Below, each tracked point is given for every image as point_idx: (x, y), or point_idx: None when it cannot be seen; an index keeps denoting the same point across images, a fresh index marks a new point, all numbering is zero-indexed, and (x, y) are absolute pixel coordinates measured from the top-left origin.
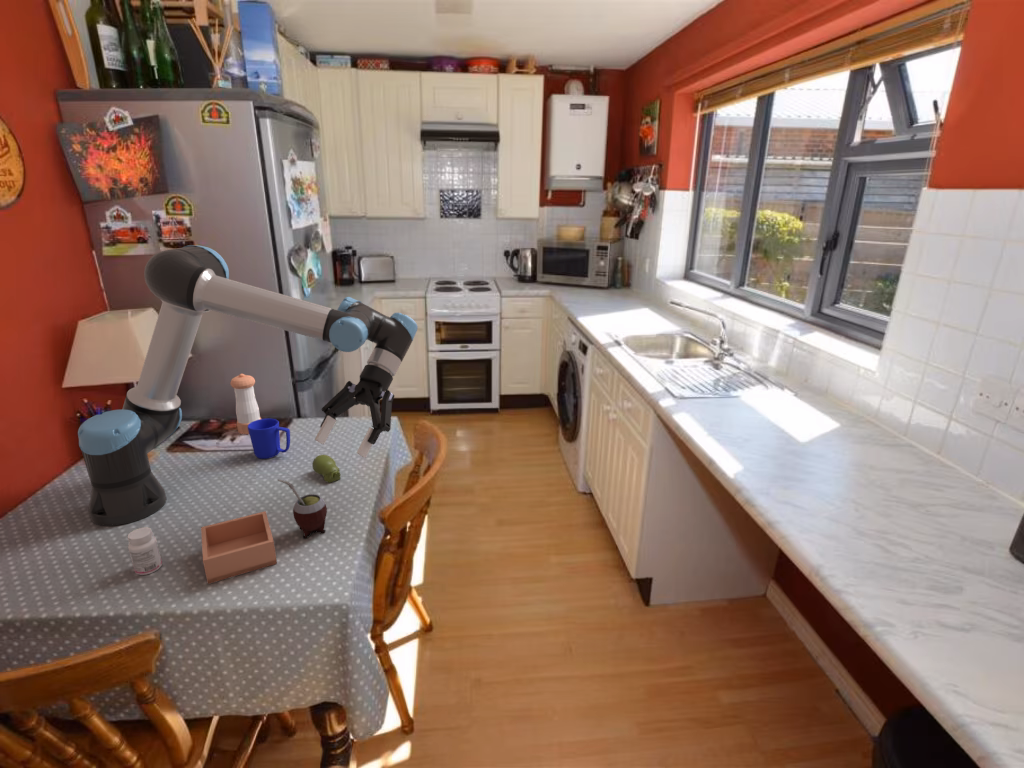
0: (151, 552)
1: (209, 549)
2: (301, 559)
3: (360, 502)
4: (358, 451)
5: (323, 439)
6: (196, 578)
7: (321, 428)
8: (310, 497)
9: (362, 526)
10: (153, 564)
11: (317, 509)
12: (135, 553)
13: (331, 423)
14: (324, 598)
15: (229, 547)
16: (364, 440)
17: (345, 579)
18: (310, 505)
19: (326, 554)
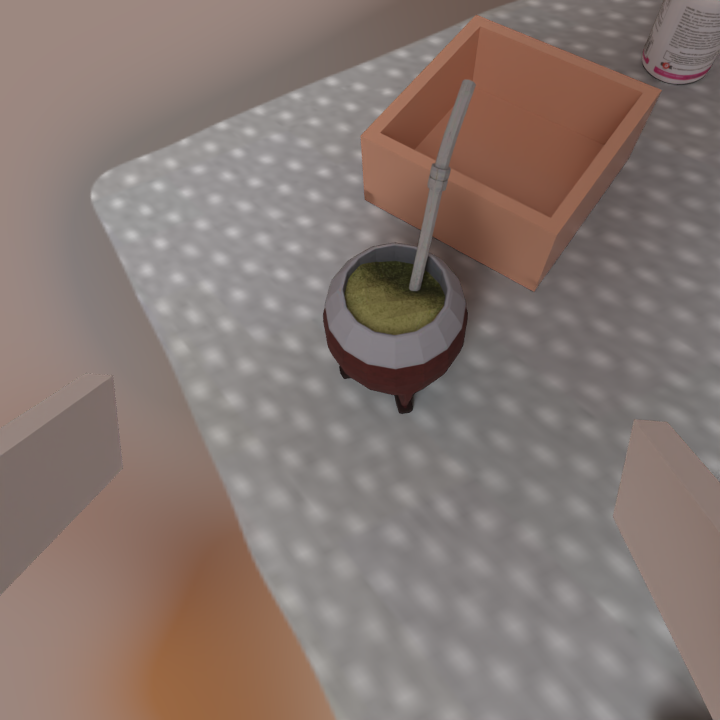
0: (666, 3)
1: (597, 141)
2: (310, 240)
3: (353, 633)
4: (90, 379)
5: (632, 510)
6: None
7: (710, 490)
8: (412, 315)
9: (225, 468)
10: (650, 40)
11: (329, 287)
12: None
13: (715, 647)
14: (138, 164)
15: (552, 169)
16: (14, 432)
17: (122, 231)
18: (353, 262)
19: (250, 287)
